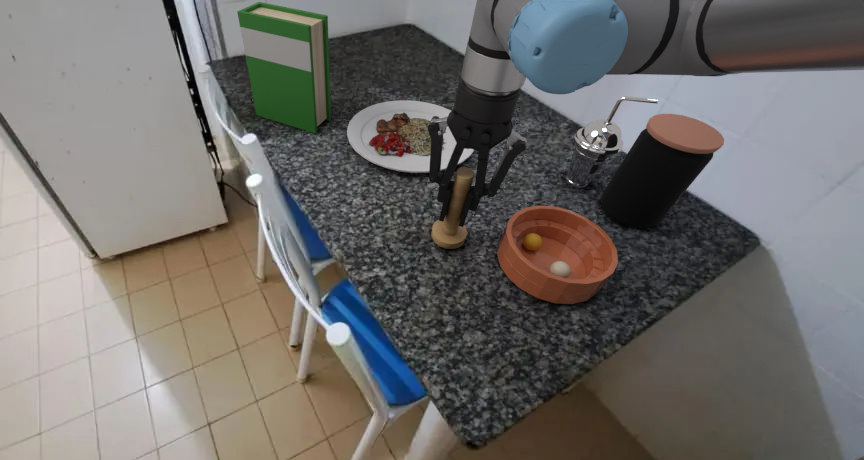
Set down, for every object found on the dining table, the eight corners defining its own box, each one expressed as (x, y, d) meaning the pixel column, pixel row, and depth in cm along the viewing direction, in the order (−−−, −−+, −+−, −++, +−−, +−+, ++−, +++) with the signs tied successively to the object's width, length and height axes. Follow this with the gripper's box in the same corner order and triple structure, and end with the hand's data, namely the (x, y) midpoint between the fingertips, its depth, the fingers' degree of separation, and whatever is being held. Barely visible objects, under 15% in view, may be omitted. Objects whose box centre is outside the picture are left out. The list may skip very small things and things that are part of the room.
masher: (446, 254, 67) (463, 192, 55) (424, 231, 70) (436, 168, 59) (472, 239, 69) (494, 177, 57) (450, 218, 72) (467, 154, 61)
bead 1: (533, 256, 68) (545, 248, 65) (518, 248, 68) (529, 240, 65) (535, 243, 69) (547, 235, 67) (520, 235, 69) (531, 227, 67)
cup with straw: (573, 164, 86) (619, 76, 72) (609, 187, 81) (667, 97, 66) (546, 176, 83) (588, 86, 69) (582, 201, 78) (635, 109, 63)
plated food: (488, 125, 97) (492, 112, 95) (452, 195, 78) (456, 182, 76) (378, 97, 106) (379, 85, 104) (323, 154, 88) (323, 141, 85)
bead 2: (556, 266, 61) (546, 278, 63) (575, 274, 61) (564, 286, 63) (555, 254, 63) (545, 266, 65) (573, 261, 63) (563, 273, 65)
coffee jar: (667, 234, 72) (738, 152, 59) (606, 227, 73) (663, 145, 60) (646, 196, 79) (706, 116, 66) (591, 190, 80) (639, 110, 67)
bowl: (601, 320, 59) (621, 298, 55) (490, 286, 63) (500, 263, 59) (597, 244, 70) (614, 220, 65) (502, 219, 74) (512, 195, 69)
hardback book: (331, 119, 98) (327, 15, 81) (315, 133, 93) (308, 26, 76) (273, 102, 104) (259, 1, 86) (256, 115, 99) (237, 11, 82)
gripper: (559, 80, 48) (503, 216, 65) (435, 59, 52) (413, 192, 69) (557, 109, 43) (497, 247, 60) (420, 83, 47) (400, 220, 64)
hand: (452, 218), depth 65 cm, fingers closed on masher, 3 cm apart
